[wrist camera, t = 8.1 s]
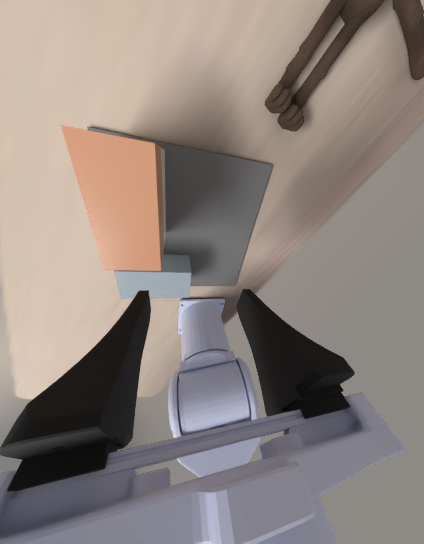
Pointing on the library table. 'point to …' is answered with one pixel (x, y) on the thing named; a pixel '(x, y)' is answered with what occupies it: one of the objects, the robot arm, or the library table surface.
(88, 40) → the library table surface
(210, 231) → the charcoal mat
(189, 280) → the slate brick
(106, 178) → the terracotta brick
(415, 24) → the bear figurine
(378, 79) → the library table surface
